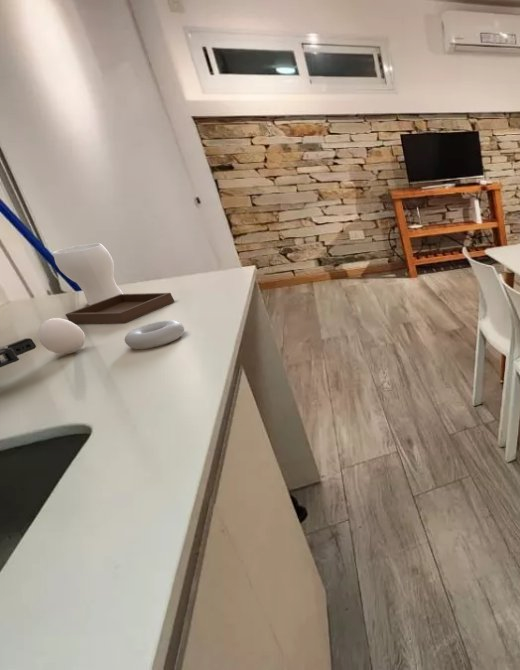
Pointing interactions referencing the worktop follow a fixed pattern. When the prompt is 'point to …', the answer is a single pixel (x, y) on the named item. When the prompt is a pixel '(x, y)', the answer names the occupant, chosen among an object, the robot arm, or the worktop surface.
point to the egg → (61, 336)
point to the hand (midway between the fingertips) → (14, 342)
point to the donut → (154, 334)
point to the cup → (89, 270)
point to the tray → (120, 308)
